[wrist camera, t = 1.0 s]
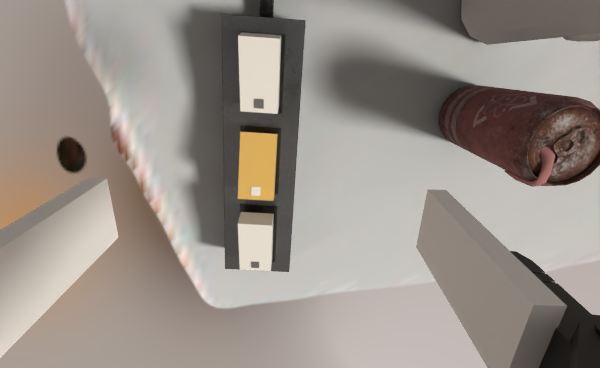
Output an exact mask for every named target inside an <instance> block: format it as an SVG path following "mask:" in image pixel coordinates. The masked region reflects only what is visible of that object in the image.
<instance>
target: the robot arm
mask: <svg viewBox="0 0 600 368" xmlns="http://www.w3.org/2000/svg"><path fill="white" fill-rule="evenodd" d="M117 238H118V233H117V228H116V223H115V218H114V213H113V207H112V202H111V197H110V192H109V187H108V182H107V179H104V178H87V179H85V180H84V181H82V182H80V183H78V184H77V185H75V186H73V187H72V188H70V189H69V190H67V191H65V192H64V193H62V194H60V195H59V196H57V197H55V198H53V199H52V200H50V201H48V202H47V203H45V204H43V205H42V206H40V207H38V208H37V209H35V210H33V211H32V212H30V213H28V214H27V215H25V216H23V217H22V218H20V219H18V220H17V221H15V222H13V223H11V224H10V225H8V226H6V227H5V228H3V229H1V230H0V358H1V356H3V354H4V353H6V351H7V350H9V348H10V347H11V346H12V345H13V344H14V343H15V342H16V341H17V340H18V339H19V338H20V337H21V336H22V335H23V334H24V333H25V332H26V331H27V330H28V329H29V328H30V327H31V326H32V325H33V324H34V323H35V322H36V321H37V320H38V319H39V318H40V317H41V316H42V315H43V314H44V313H45V312H46V311H47V310H48V309H49V308H50V307H51V306H52V304H53V303H54V302H55V301H56V300H57V299H58V298H59V297H60V296H61V295H62V294H63V293H64V292H65V291H66V290H67V289H68V288H69V287H70V286H71V285H72V284H73V283H74V282H75V281H76V280H77V279H78V278H79V277H80V276H81V275H82V274H83V273H84V272H85V271H86V270H87V269H88V268H89V267H90V266H91V265H92V264H93V263H94V262H95V261H96V260H97V259H98V257H100V255H101V254H102V253H103V252H104V251H105V250H106V249H107V248H108V247H109V246H110V245H111V244H112V243H113V242H114V241H115V240H116V239H117ZM416 247H417V249H418V251H419V252H420V254H421V256H422V257H423V259H424V261H425V262H426V264H427V266H428V267H429V269H430V271H431V273H432V274H433V276H434V278H435V279H436V281H437V283H438V284H439V286H440V288H441V289H442V291H443V293H444V294H445V296H446V298H447V300H448V301H449V303H450V304H451V306H452V308H453V310H454V311H455V313H456V315H457V316H458V318H459V320H460V322H461V323H462V325H463V327H464V328H465V330H466V332H467V333H468V335H469V337H470V339H471V340H472V342H473V344H474V345H475V347H476V349H477V350H478V352H479V354H480V355H481V357H482V359H483V361H484V362H485V364H486V366H487V367H488V368H600V315H592V314H590V313H589V312H588V311H587V310H586V309H585V308H584V307H583V306H582V305H581V304H579V303H578V302H577V301H576V300H575V299H574V298H573V297H572V296H571V295H569V294H568V293H567V292H566V291H565V290H564V289H563V288H562V287H561V286H559V285H558V284H555V281H554V280H553V279H552V278H551V277H549V276H548V275H547V274H545V272H544V271H543V270H542V269H541V268H540V267H539V266H537V265H536V264H535V263H534V262H533V261H531V260H530V259H528V258H526V257H525V256H523V255H521V254H519V253H518V252H514V251H509V250H508V249H507V248H506V247H505V246H504V245H503V244H502V243H501V242H500V241H499V240H498V239H497V238H495V237H494V236H493V235H492V234H491V233H490V232H489V231H488V230H487V229H486V228H485V227H484V226H483V225H482V224H481V223H480V222H479V221H478V220H477V219H476V218H475V217H474V216H472V215H471V214H470V213H469V212H468V211H467V210H466V209H465V208H464V207H463V206H462V205H461V204H460V203H459V202H458V201H457V200H456V199H455V198H454V197H453V196H452V195H451V194H449V193H448V192H447V191H446V190H427V195H426V200H425V206H424V211H423V216H422V221H421V226H420V231H419V236H418V241H417V246H416Z"/></svg>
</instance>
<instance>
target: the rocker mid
mask: <svg viewBox="0 0 600 368" xmlns="http://www.w3.org/2000/svg"><path fill="white" fill-rule="evenodd" d="M277 137H278V134H269V133H253V132H240V152H239V179H238V199H250V200H267V201H273V200H274V193H275V175H276V156H277Z"/></svg>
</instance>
